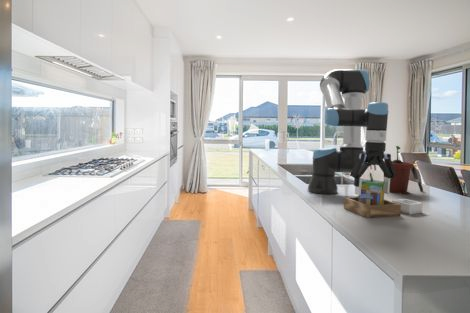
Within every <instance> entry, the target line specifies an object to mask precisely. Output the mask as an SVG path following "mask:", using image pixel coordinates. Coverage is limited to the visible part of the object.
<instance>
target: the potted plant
mask: <svg viewBox="0 0 470 313" xmlns="http://www.w3.org/2000/svg"><path fill="white" fill-rule="evenodd" d="M395 147H396V159H394V160H391V161H392V164H393V167H394V170H395V173H396V176H394V178H391V185H390V188H389V193H395V194H401V195H404V194H405V195H404V196H406V195H410V194H411V192H409V191H408V189H409V181H410V174H411V175H412V177H413V179H414V180H415V181H416V182H417V185H418V188H419V191H420V192H423V191H424V189H423V186H422V182H421V181H420V179H421V177H420V174H419V172H418V169H417V167H416V166H415V163H413V162H409V161H402V160H400V159H399V153H400V151H399V150H401V147H400V146H399V145H396V146H395ZM383 161H384V160H383ZM384 162H385V161H384ZM385 165H386V164H385ZM386 167H387V166H386ZM384 177H386V176H385V175H384V174H383V178H384Z"/></svg>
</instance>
